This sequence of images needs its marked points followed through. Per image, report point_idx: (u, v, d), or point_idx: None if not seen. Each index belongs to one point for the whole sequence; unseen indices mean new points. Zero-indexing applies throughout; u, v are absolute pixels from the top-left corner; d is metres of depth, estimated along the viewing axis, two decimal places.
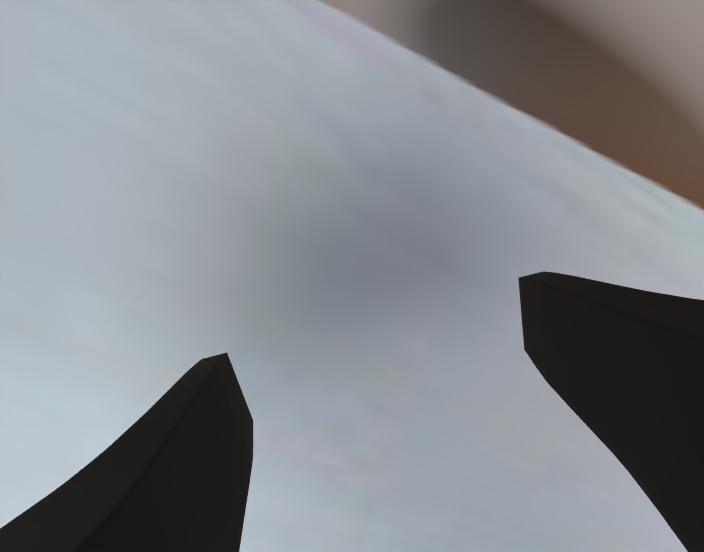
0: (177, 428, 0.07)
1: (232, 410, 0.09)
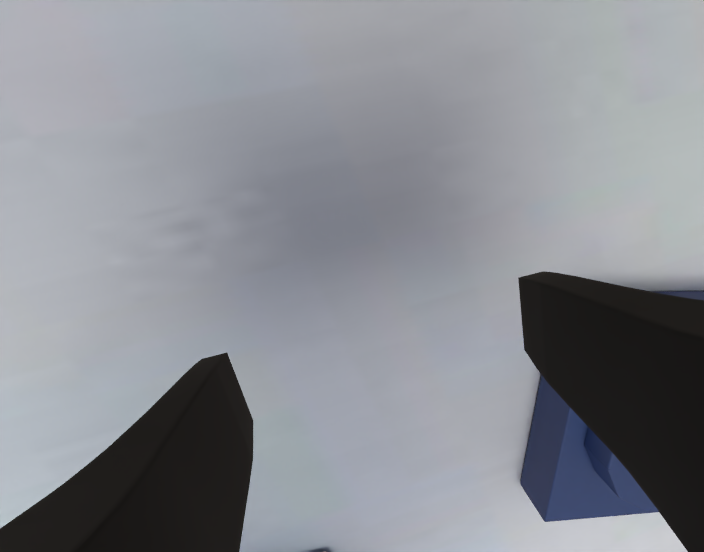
0: (178, 428, 0.07)
1: (232, 410, 0.09)
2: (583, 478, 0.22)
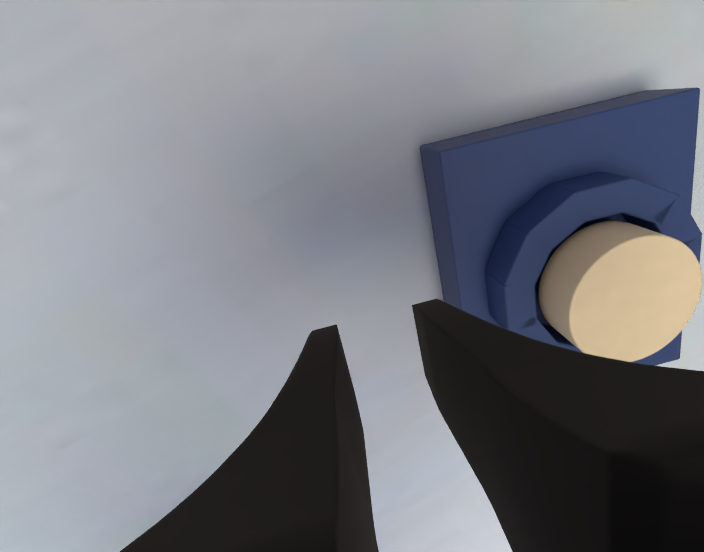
0: (335, 387, 0.07)
1: (349, 380, 0.09)
2: None
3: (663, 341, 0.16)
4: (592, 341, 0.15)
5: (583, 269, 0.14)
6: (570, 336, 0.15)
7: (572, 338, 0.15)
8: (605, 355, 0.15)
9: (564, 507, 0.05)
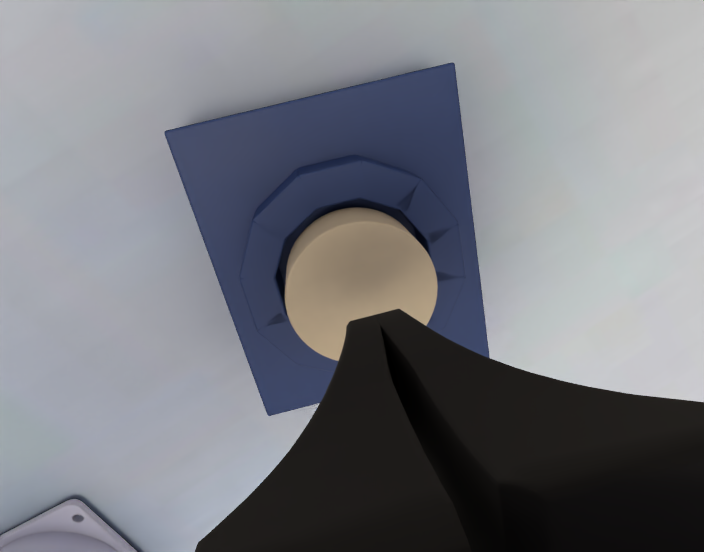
0: (388, 373, 0.07)
1: (389, 369, 0.10)
2: None
3: None
4: (321, 339, 0.14)
5: (294, 259, 0.13)
6: (298, 333, 0.14)
7: (298, 335, 0.14)
8: None
9: (482, 530, 0.05)
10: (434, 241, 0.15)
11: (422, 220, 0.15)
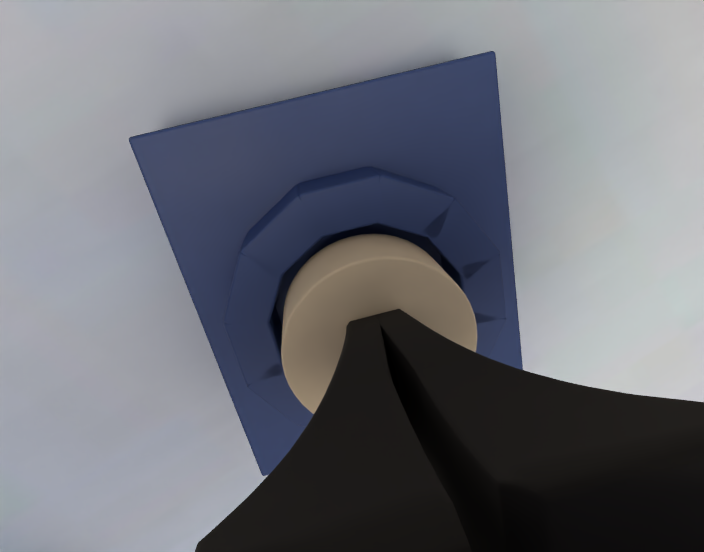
0: (389, 372, 0.07)
1: (389, 369, 0.10)
2: None
3: None
4: None
5: (293, 305, 0.10)
6: None
7: (299, 399, 0.11)
8: None
9: (482, 530, 0.05)
10: (470, 276, 0.12)
11: (455, 250, 0.12)
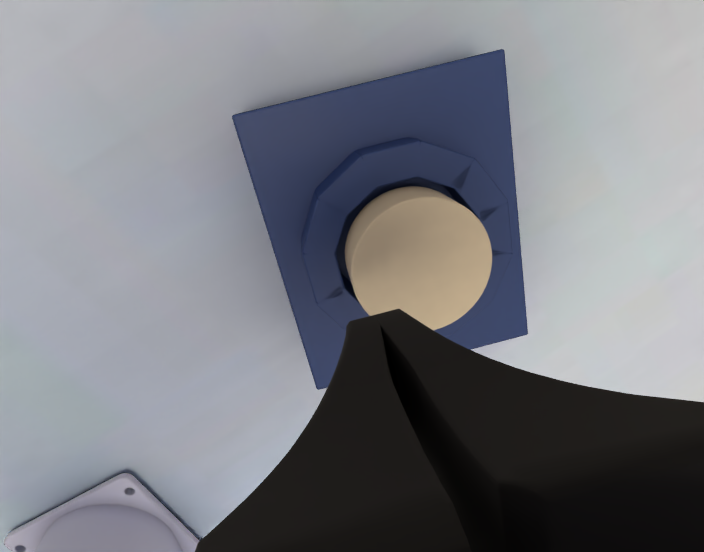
0: (389, 373, 0.07)
1: (389, 369, 0.10)
2: (338, 329, 0.19)
3: (460, 309, 0.15)
4: (382, 309, 0.15)
5: (360, 233, 0.14)
6: None
7: (361, 305, 0.15)
8: None
9: (482, 530, 0.05)
10: (485, 218, 0.16)
11: (474, 198, 0.16)
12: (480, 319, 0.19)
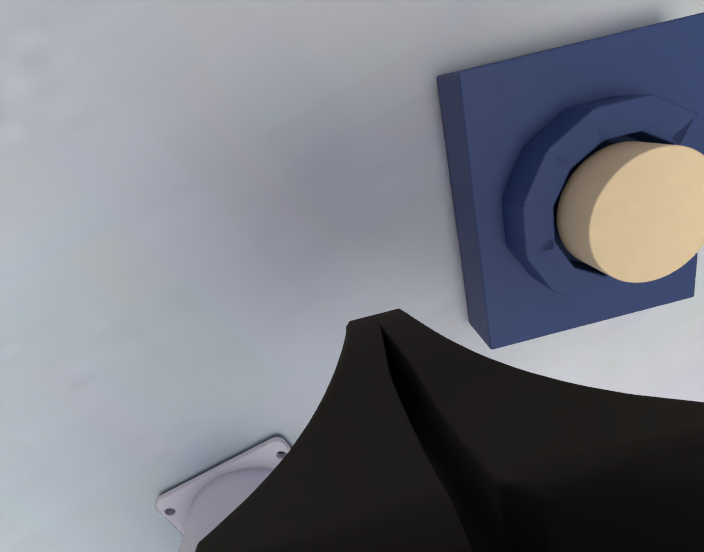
0: (389, 373, 0.07)
1: (389, 369, 0.10)
2: (520, 288, 0.19)
3: (681, 259, 0.16)
4: (611, 258, 0.15)
5: (603, 181, 0.14)
6: (589, 253, 0.15)
7: (592, 254, 0.15)
8: (624, 273, 0.16)
9: (482, 530, 0.05)
10: None
11: None
12: None
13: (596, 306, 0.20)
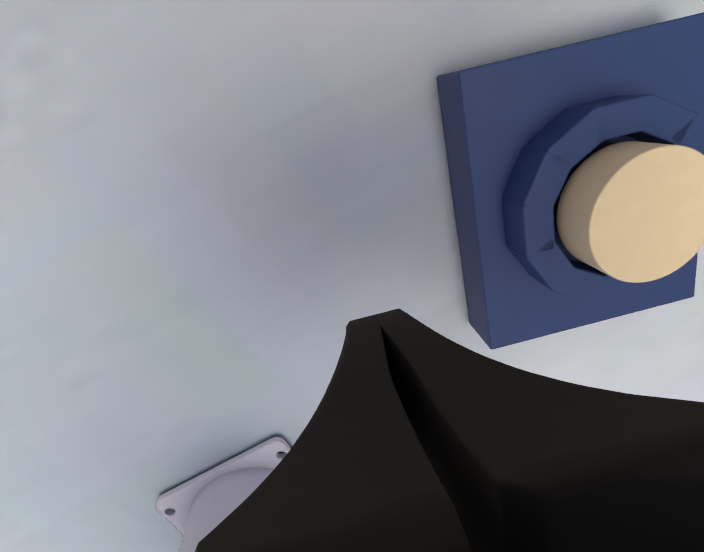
0: (389, 373, 0.07)
1: (389, 369, 0.10)
2: (520, 288, 0.19)
3: (681, 259, 0.16)
4: (611, 258, 0.15)
5: (603, 181, 0.14)
6: (589, 253, 0.15)
7: (592, 254, 0.15)
8: (624, 273, 0.16)
9: (482, 530, 0.05)
10: None
11: None
12: None
13: (596, 306, 0.20)
